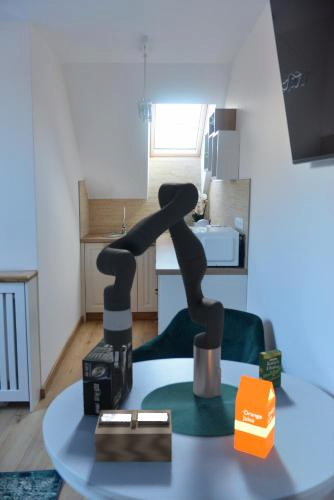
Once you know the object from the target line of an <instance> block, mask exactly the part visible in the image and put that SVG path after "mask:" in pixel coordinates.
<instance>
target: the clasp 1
mask: <svg viewBox="0 0 334 500" xmlns="http://www.w3.org/2000/svg"><path fill="white" fill-rule="evenodd" d="M98 419H99V418H98ZM97 423H98V424H99V425H102V424H107V425H130V424H131V414H103V413H102V414H101V415H100V419H99V422H98V421H97Z"/></svg>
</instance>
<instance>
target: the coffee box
mask: <svg viewBox="0 0 334 500" xmlns="http://www.w3.org/2000/svg"><path fill="white" fill-rule="evenodd" d="M258 354H259V357H258V358H259V359H258V360H259V361H258V362H259V363H258V379H260V380H265V381H269V382H272V385H273V388H275V387H276V388H277V387H281V385H282V358H283V357H282V351H281V350H280V349H278V348H277V349H273V350H268V351H262V352H259V353H258Z"/></svg>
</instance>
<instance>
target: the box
mask: <svg viewBox="0 0 334 500" xmlns="http://www.w3.org/2000/svg"><path fill="white" fill-rule="evenodd" d="M125 346H126V361H125V366H124V373H123V376H124V384H123V387H115V375H113V371H112V365H111V363H112V359H111V356H110V350H111V347H112V346H111V345H107V344H106V343H105V342H104V337H103V338H102V339H101V340H100V341H99V342H98V343H97V344H95V346H94V347H93V348H91V350H90V351H89V352H88V353H87V354H86V355H85V356H84V357H83V358H82V359H81V368H82V369H81V370H82V371H81V372H82V403H83V415H84V416H91V417H92V416H93V417H99V415H100V411H101V410H120V407H121V405H122V404H123V402H124V400H125V399H126V397H127V396H128V394H129V392H130V391H131V389H132V387H133V384H134V382H133V381H134V380H133V378H134V377H133V372H134V371H133V362H134V361H133V359H134V358H133V340H132V341H131V342H130V343H129V344H127V345H125Z"/></svg>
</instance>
